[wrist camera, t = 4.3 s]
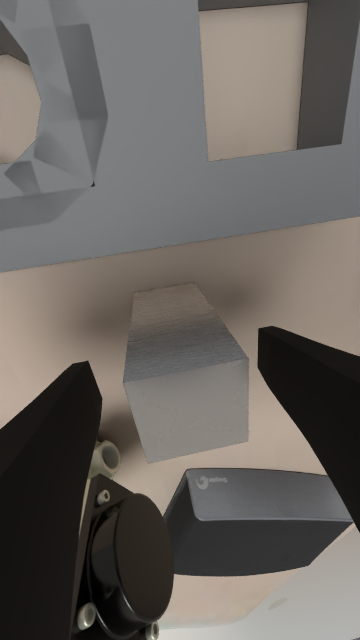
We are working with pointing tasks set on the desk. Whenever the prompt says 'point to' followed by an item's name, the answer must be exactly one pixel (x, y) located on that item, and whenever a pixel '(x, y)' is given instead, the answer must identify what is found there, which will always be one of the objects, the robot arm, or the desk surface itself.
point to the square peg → (184, 375)
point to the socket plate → (163, 132)
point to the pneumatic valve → (119, 559)
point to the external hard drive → (251, 521)
